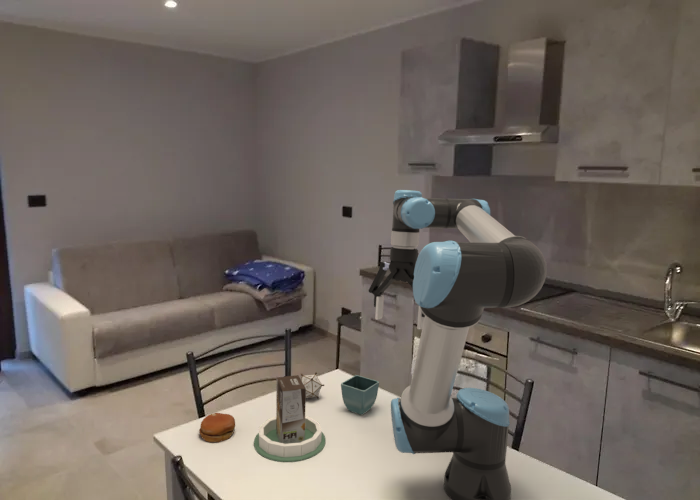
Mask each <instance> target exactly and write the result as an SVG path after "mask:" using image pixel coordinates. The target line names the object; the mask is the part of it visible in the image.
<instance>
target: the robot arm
mask: <svg viewBox="0 0 700 500" xmlns="http://www.w3.org/2000/svg"><path fill="white" fill-rule="evenodd" d="M392 204H393V207H392V208H393V209H392V224H391V225H392V226H391V235H390V236H391V238H390V245H391V246H392V247H391V248H390V251H389V260H390V262H388V261H383V262H380V263H379V269H378V271H377V273H376V275H375V277H374V279H373V281H372V283H371V284H370V286H369V288H368V293H369V294H372V295H373V296H374V299H373V307H374V308H375V314H374V315H375V317H374V320H376V321H379V320H382V319H383V318H384V317H383V315H384V304H385V296H384V295H383V294H384V293H385V292H386V290H387V289H388V288H389V287H390V286H391V285H392V283H393V282H394V281H396V282H399V281H401V282H403V283H407V284H408V285H409V286H410V287H411V288H412V294H413V295H412V296H413V298H414V301H415V303H416V305H417V306H418V310H417V311H418V312H417V323H416V329H417V330H421V333H420V338H419V343H418V347H417V348H418V349H417V352H416V358H415V362H414V367H413V372H412V378H411V382H410V385H408V386H406V388H405V389H404V390H403V391H402V394H401V396H400V397H396V398H392V400H391V401H390V415H391V426H392V433H393V439H394V443H395V447H396V450H397V451H398V452H399V453H402V454H412V455H416V454H436V453H437V454H439V453H452V456H451V458H450V460H449V463H448V465H447V466H446V467H447V468H446V470H445V471H444V474H443V489H444V492H445V494H446V495H447V496H448V497H449V498H451V500H511V498H512V497H511V496H512V494H511V493H512V485H511V483H510V479H509V473H508V469H507V465H506V458H507V450H508V449H507V447H508V439H509V438H508V436H509V429H510V428H509V427H510V424H511V422H510V407H509V405H508V403H507V402H506V401H505V400H504V399H503V398H502V397H500V396H499V395H497V394H496V393H493V392H491V391H488V390H485V389H481V388H478V387H477V388H476V387H464V388H460V389H459V390H458V391H457V393H456V397H452V393H453V389H454V385H455V381H456V378H457V374H458V371H459V367H460V364H461V360H462V356H463V352H464V349H465V345H466V341H467V338H468V334H469V330H470V328H472V327H473V326H475V325H477V324H478V323H479V322H480V321H481V318H482V316H483V312H484V310H485V309H486V308H488V309H490V308H491V309H493V308H498V309H501V308H504V309H505V308H506V309H507V308H513V307H514V308H515V307H518V306H521V305H523V304H525V303H527V302H529V301H530V300H532V299H533V298H535V297H536V295H538V293H539V292H540V291H541V290H542V287H543V285H544V284H545V283H546V277H547V274H548V273H547V272H548V268H547V266H548V265H547V261H546V259H545V257H544V254H543V252H542V251H541V250H540V248H539V247H537V245H535V244H534V243H533V242H532V241H530V239H528V238H526V237H524V236H520V235H515V234H514V233H513V232H511V231H510V230H508V229H507V228H506V227H505V226H504V225H503V224H501V222H499V221H498V220H497V219H496V218H494V217H493V216H491V208H490V206H489V203H488V201H487V200H484V199H477V198H469V199H468V198H443V197H442V198H439V197H437V198H436V197H433V198H432V197H423V193H422V192H421V191H419V190H409V189H398V190H396V191H395V192H394V195H393V201H392ZM421 229H450V230H452V229H453V230H454V229H455V230H458V231H459V232H460V233H461V234H462V235H463V236H464V237H465V238H466V239H467V242H465V241H464V242H463V241H461V242H460V241H454V240H446V241H433V242H430V243H428V244H426V245H425V246H424V247H423V248H422V249H420V252H419V250H418V249H417V248H418V247H419V242H420V230H421ZM388 270H389V271H390V272H389V274H388V275H387V277H386V279H384V277H385V276H386V274H387V271H388Z"/></svg>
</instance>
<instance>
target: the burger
mask: <svg viewBox="0 0 700 500" xmlns="http://www.w3.org/2000/svg"><path fill="white" fill-rule="evenodd" d="M235 428H236V419H235V417H234V416H233V415H231V414H230V413H223V412H214V413H210V414H208V415H207V416H205V417H204V418H203V419H202V421H201V422H200V428H199V431H198V432H199V435H200V437H201V438H202V440H204V441H206V442H208V443H209V442H210V443H219V442H220V443H221V442H224V441H227V440H229V439H230V438H231V436H232V435H233V433H234V431H235Z"/></svg>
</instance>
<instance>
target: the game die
mask: <svg viewBox="0 0 700 500" xmlns="http://www.w3.org/2000/svg"><path fill="white" fill-rule="evenodd" d="M317 374H318V372H317V371H316V372H315V373H314V374H306V375H304V374H303V373H300V376H301V378H300V379H301V381H302V383H303V384H304V386H305V388H306V399H309V398H310V399H312V398H316V399H318V400H319V399H320V398H319V397H320V396H319V393H320V391H321V389H322V387H324V386H325V384H322V382H321V381H320V379H319V378H318V375H317Z"/></svg>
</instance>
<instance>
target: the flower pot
mask: <svg viewBox="0 0 700 500" xmlns="http://www.w3.org/2000/svg"><path fill="white" fill-rule="evenodd" d="M379 385H380V381H379V380H376V379H373V378H369V377H365V376H361V375H359V374H358V375H353V376H352V377H349V379H347V380H345V381H343V382H341V383H340V387H341V395H342V401H343V404H344V406H345V408H346V409H347V410H348V411H349V412H353V413H355V414H358V415H361V416H362V415H364V414H365V413H367V412H368V411H370V410H371V409H372V407H373V406H374V404H375V403H376V400H377V397H378V391H379V387H380V386H379Z"/></svg>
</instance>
